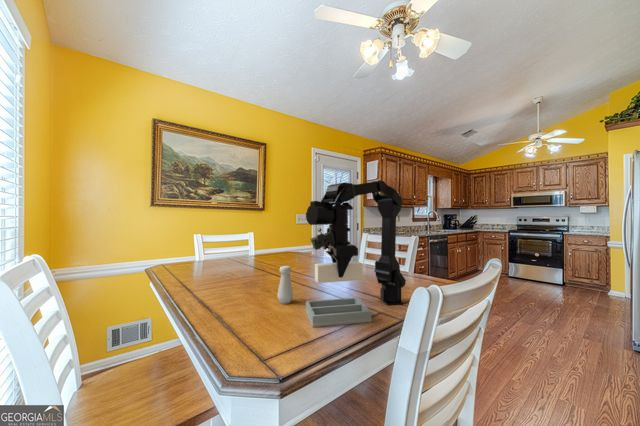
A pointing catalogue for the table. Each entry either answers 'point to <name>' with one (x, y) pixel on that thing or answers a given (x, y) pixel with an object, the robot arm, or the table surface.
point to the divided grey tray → (337, 312)
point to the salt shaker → (285, 286)
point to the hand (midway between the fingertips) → (338, 275)
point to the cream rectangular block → (330, 272)
